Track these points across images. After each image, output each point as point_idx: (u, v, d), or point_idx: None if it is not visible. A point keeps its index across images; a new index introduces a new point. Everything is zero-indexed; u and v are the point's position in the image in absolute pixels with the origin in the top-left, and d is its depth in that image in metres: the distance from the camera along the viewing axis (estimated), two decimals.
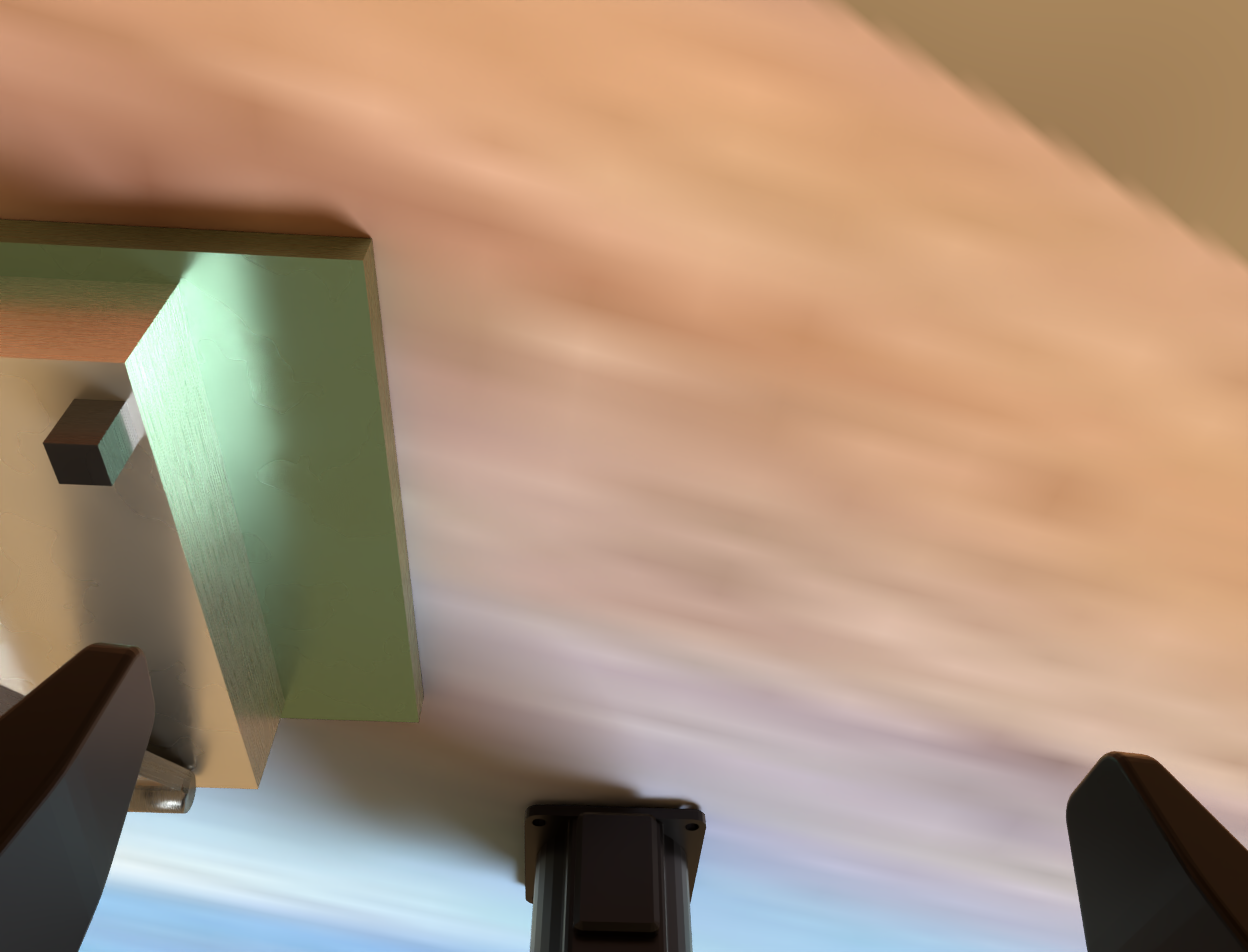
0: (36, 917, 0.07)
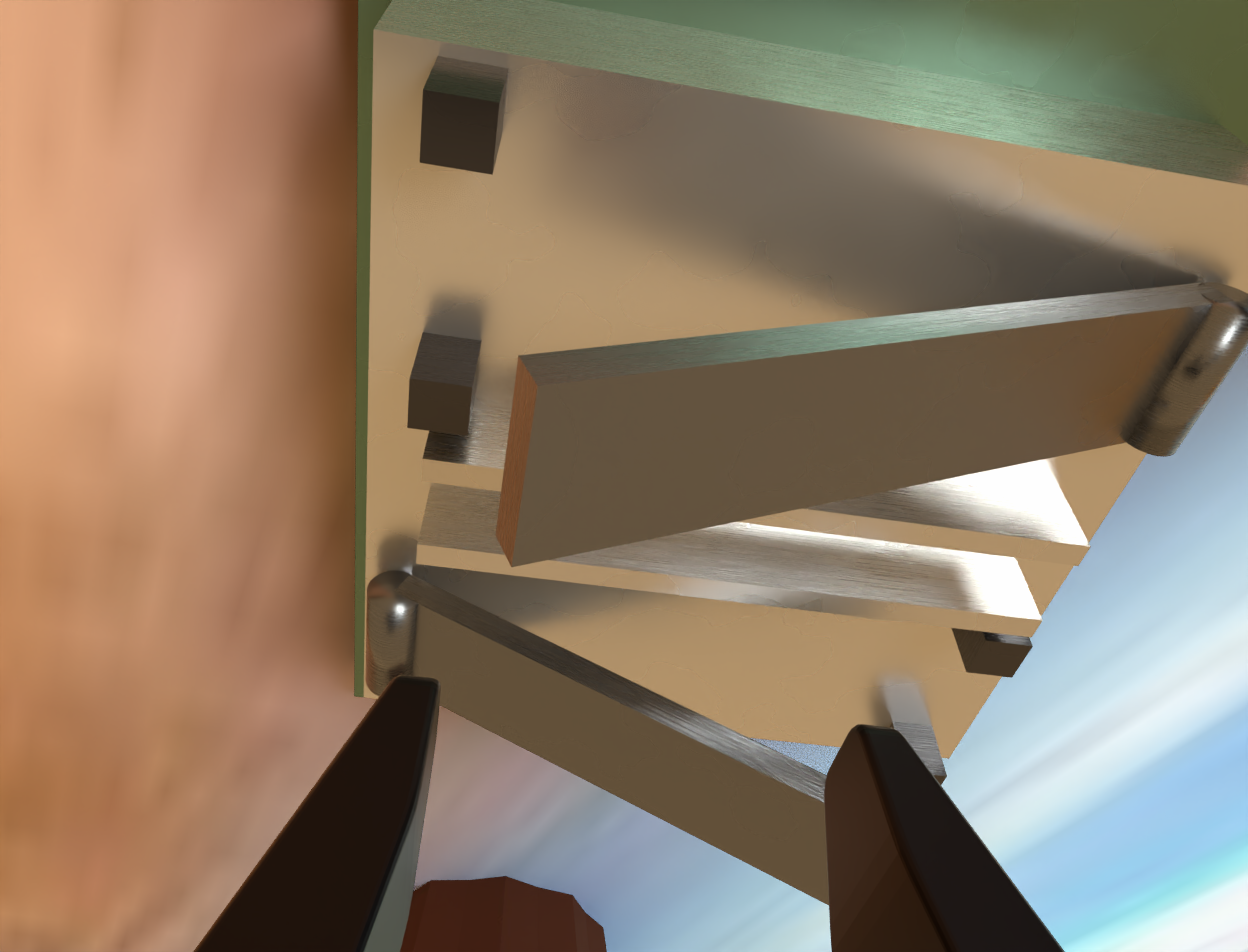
0: (387, 944, 0.08)
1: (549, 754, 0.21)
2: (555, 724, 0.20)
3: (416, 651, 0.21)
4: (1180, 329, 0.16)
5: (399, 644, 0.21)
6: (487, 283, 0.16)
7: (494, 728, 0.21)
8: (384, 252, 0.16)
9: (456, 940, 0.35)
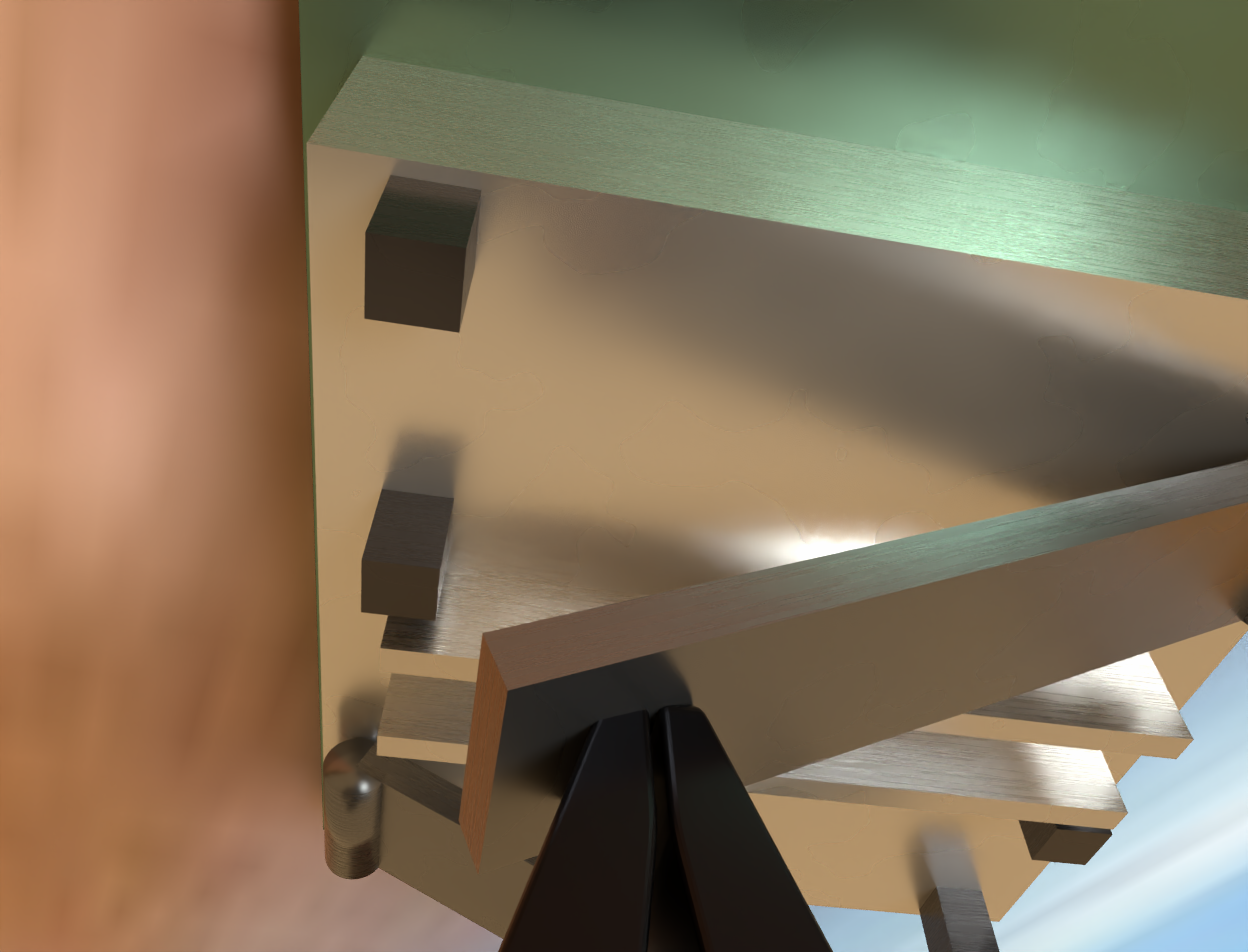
0: None
1: None
2: None
3: (383, 830, 0.18)
4: None
5: (362, 826, 0.17)
6: (459, 436, 0.13)
7: (474, 918, 0.18)
8: (331, 401, 0.13)
9: None
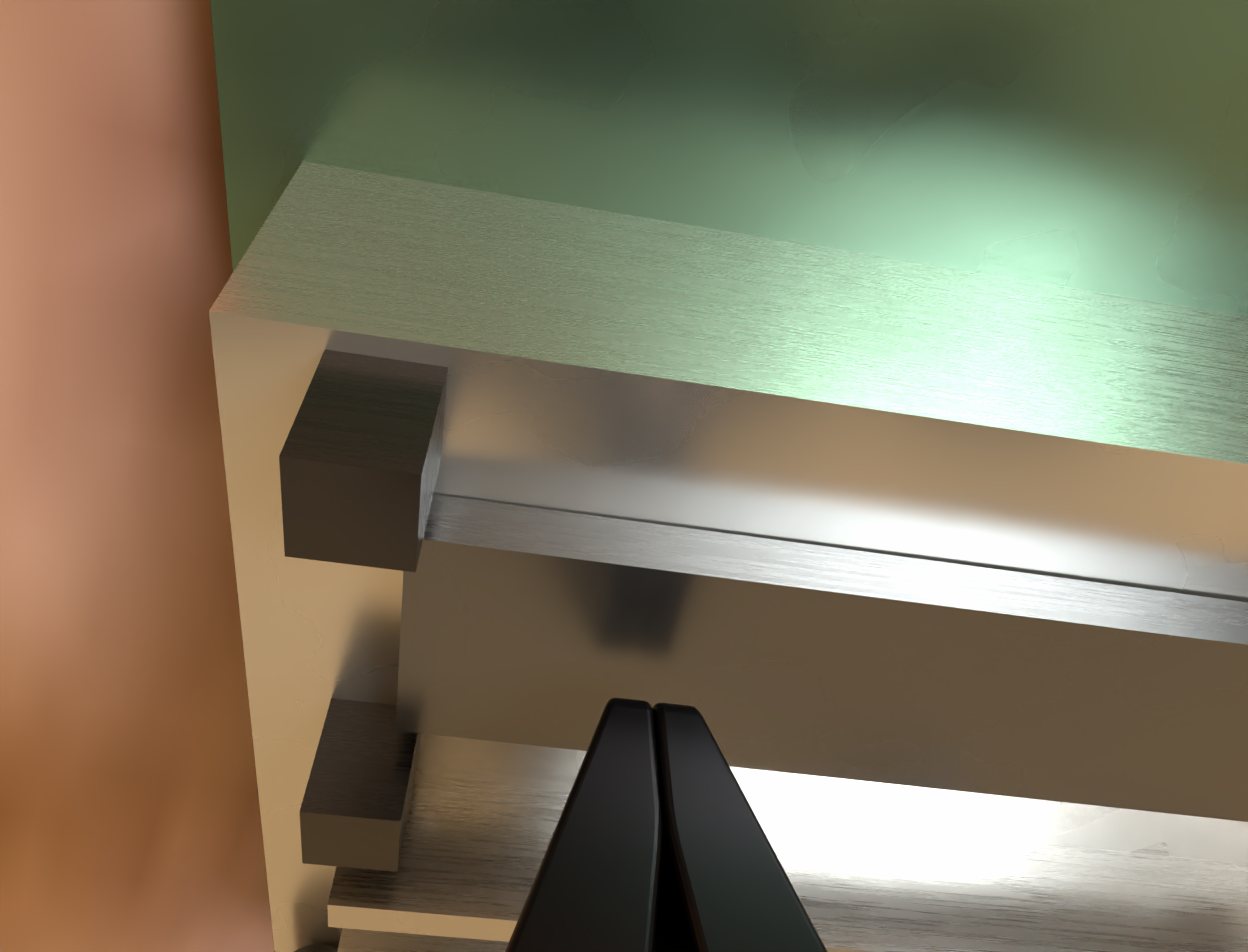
0: None
1: None
2: None
3: None
4: None
5: None
6: None
7: None
8: (262, 604, 0.10)
9: None
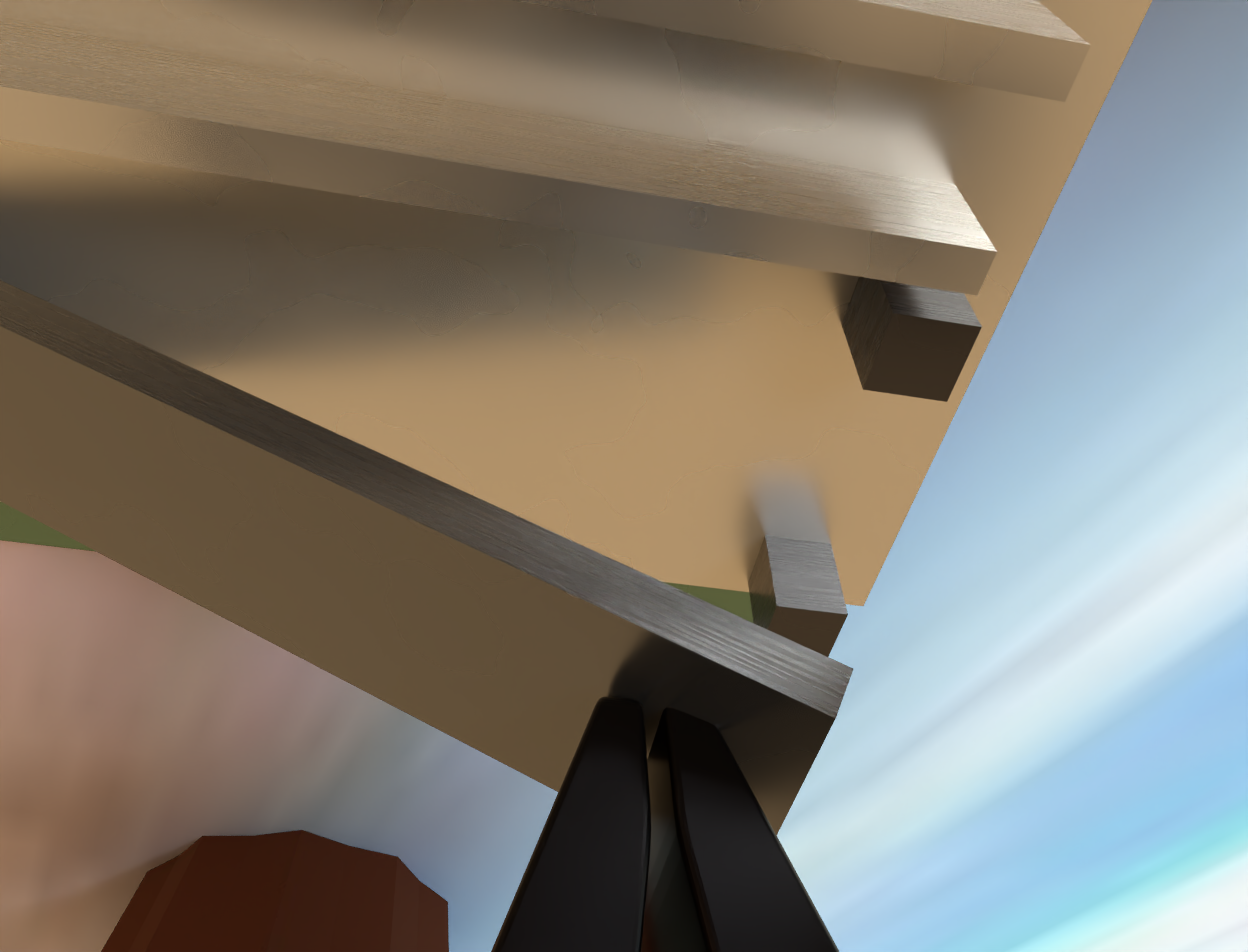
0: None
1: (107, 544, 0.12)
2: (91, 475, 0.11)
3: None
4: None
5: None
6: None
7: (21, 504, 0.12)
8: None
9: (218, 914, 0.25)
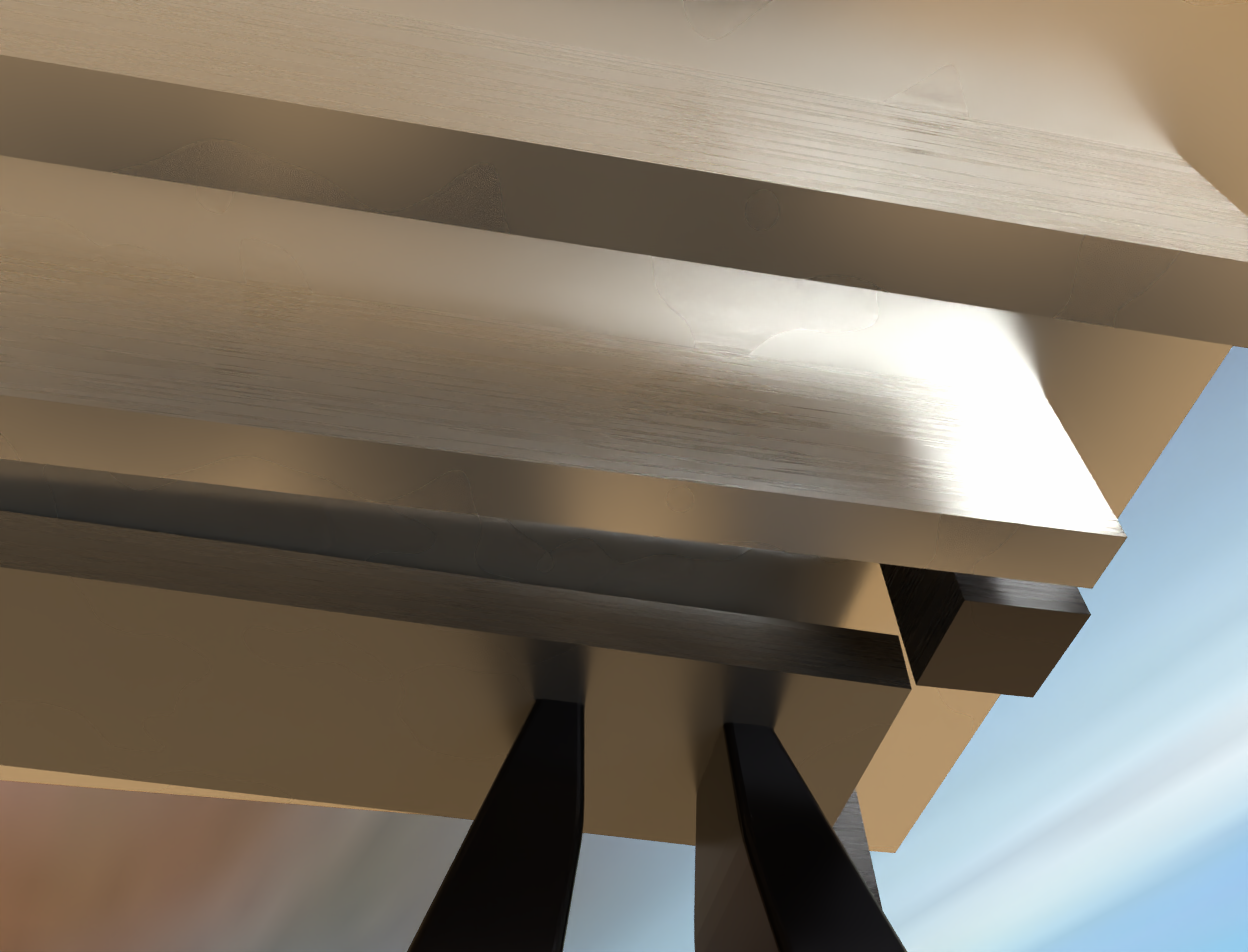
0: None
1: None
2: None
3: None
4: None
5: None
6: None
7: None
8: None
9: None
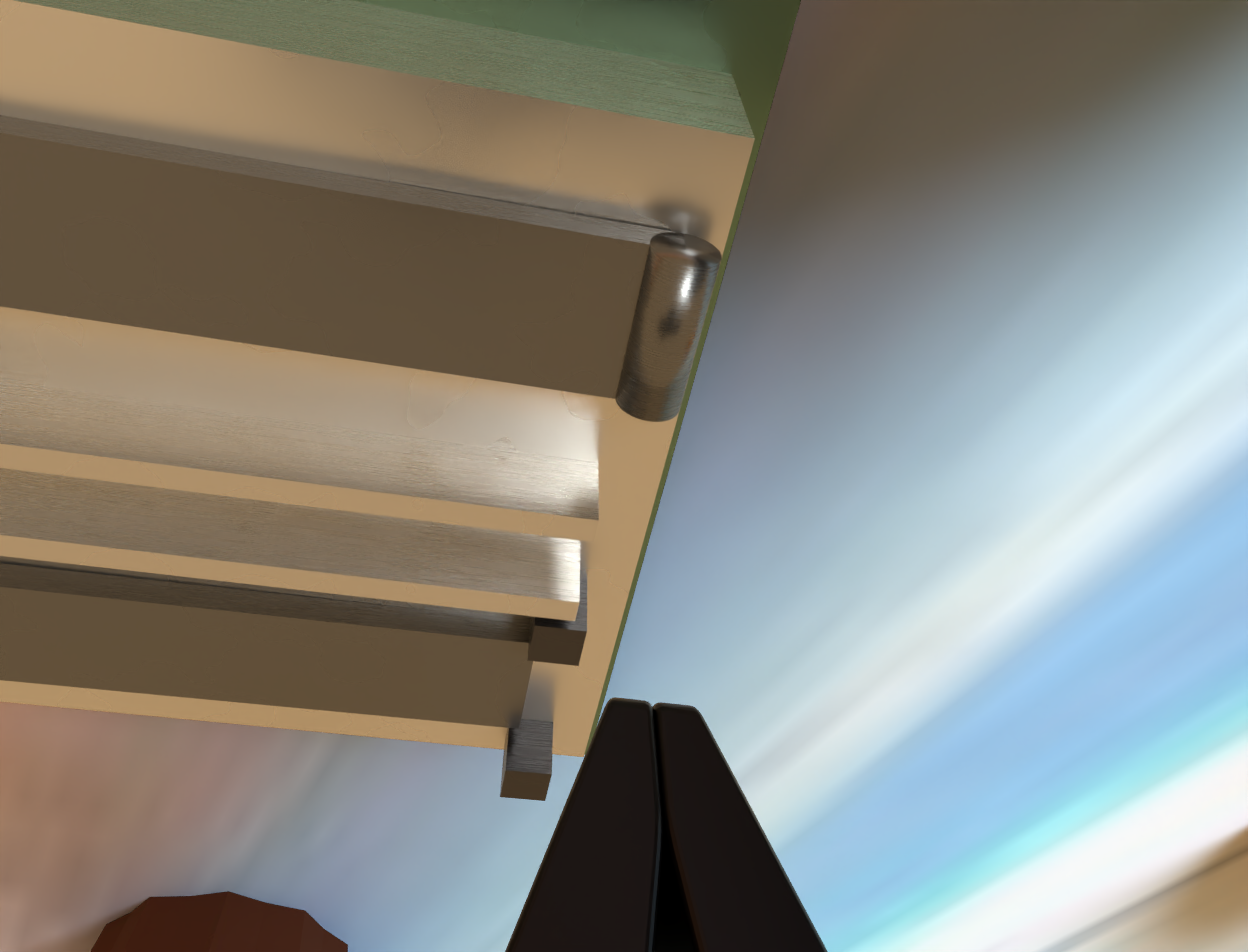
0: None
1: (133, 685, 0.21)
2: (126, 652, 0.20)
3: None
4: (615, 265, 0.15)
5: None
6: None
7: (65, 682, 0.21)
8: None
9: None
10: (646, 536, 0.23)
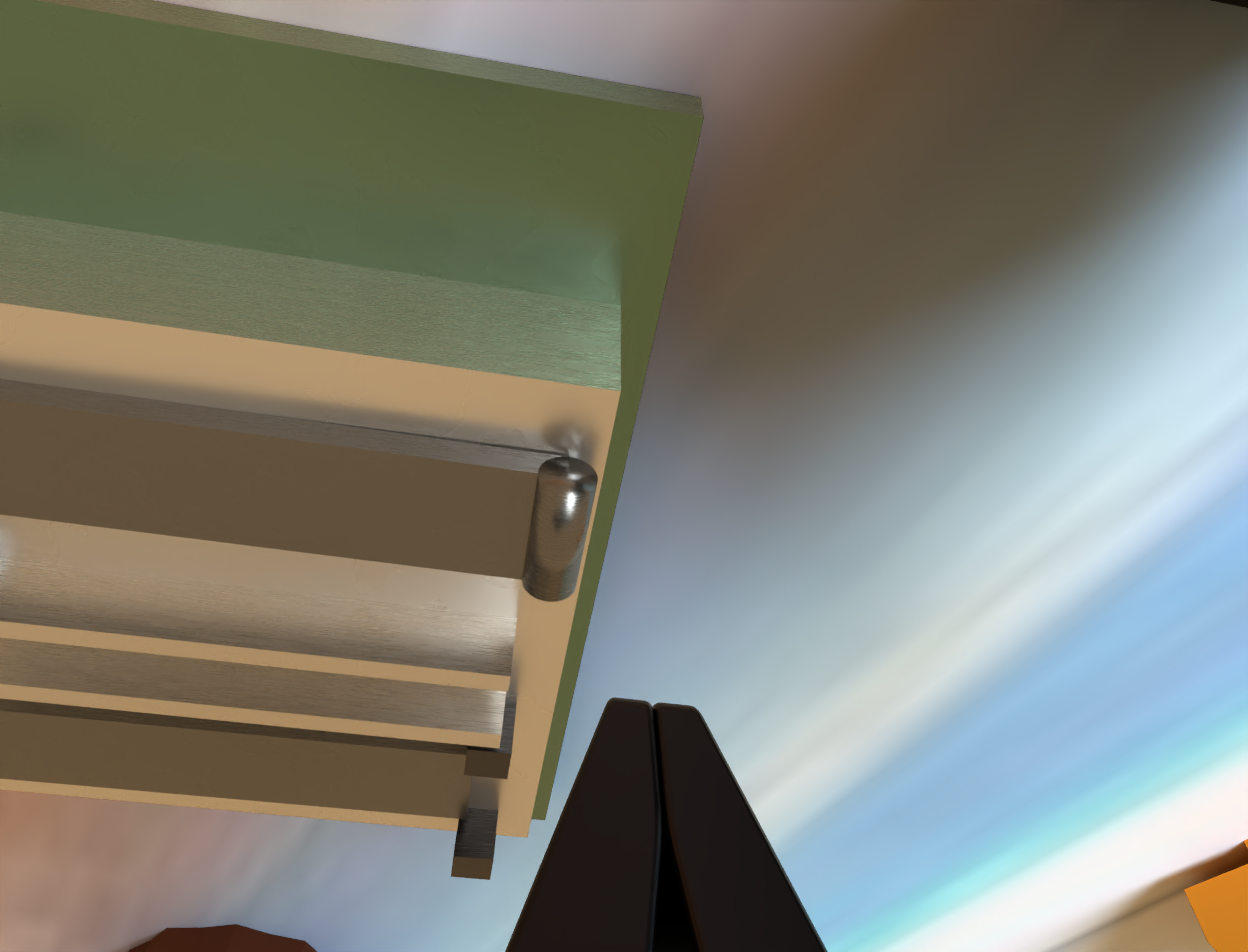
0: None
1: (138, 785, 0.25)
2: (131, 761, 0.24)
3: None
4: (511, 487, 0.18)
5: None
6: None
7: (81, 782, 0.24)
8: None
9: None
10: (580, 648, 0.27)
